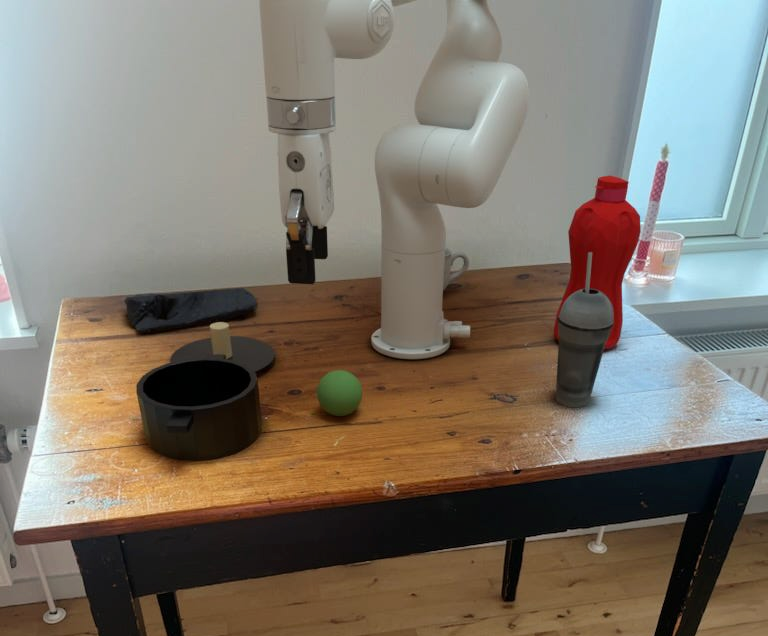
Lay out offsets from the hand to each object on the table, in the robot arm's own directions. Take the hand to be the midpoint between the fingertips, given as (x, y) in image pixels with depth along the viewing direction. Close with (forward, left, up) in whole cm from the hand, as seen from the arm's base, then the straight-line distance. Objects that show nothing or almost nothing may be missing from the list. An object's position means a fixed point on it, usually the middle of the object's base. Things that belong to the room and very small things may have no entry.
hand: (308, 270), depth 93 cm
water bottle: (-42, -24, -19) cm, 52 cm away
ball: (-4, +3, -15) cm, 16 cm away
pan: (+13, +9, -18) cm, 24 cm away
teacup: (-16, -45, -19) cm, 51 cm away
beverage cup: (-36, -3, -19) cm, 40 cm away
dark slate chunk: (+25, -32, -19) cm, 45 cm away
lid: (+15, -12, -18) cm, 27 cm away
